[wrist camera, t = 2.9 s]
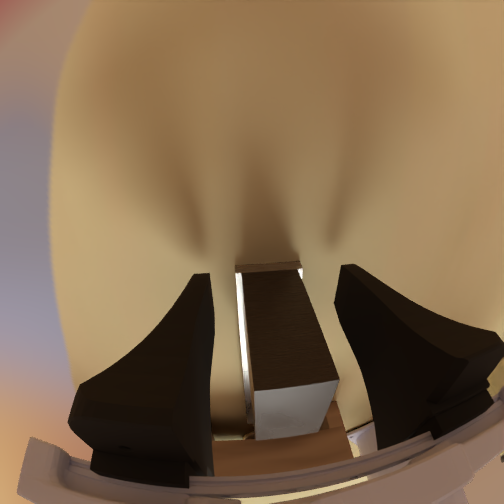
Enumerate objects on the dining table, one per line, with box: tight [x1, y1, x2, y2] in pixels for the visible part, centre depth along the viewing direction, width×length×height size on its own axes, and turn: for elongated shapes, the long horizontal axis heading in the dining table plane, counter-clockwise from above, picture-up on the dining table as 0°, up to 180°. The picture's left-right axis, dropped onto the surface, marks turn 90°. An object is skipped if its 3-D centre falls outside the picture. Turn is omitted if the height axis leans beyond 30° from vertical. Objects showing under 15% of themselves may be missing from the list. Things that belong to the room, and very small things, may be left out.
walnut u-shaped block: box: [211, 401, 354, 477], centre depth 19 cm, size 8×12×6 cm
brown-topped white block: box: [235, 261, 340, 441], centre depth 14 cm, size 15×3×7 cm, turn 2°
